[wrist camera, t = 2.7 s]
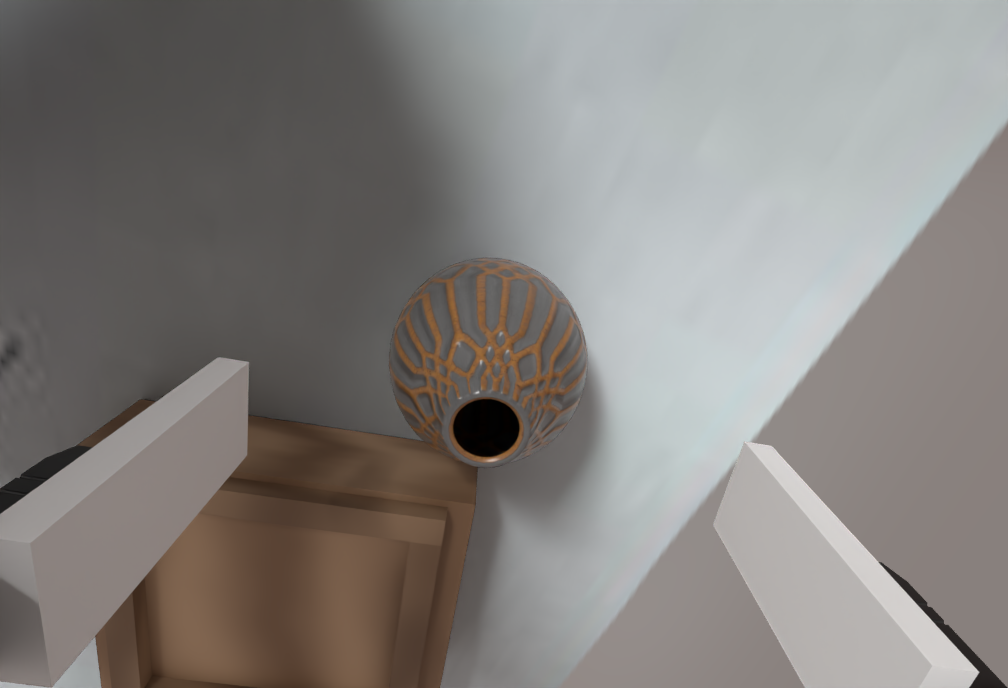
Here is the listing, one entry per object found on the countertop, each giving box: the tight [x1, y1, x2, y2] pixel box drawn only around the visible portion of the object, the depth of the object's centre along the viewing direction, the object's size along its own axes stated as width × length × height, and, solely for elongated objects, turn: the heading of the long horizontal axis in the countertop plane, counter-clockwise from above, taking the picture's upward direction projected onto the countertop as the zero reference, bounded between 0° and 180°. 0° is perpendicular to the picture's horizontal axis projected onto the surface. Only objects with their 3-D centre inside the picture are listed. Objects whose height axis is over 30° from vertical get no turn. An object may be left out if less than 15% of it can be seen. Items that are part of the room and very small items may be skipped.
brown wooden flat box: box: [78, 399, 478, 688], centre depth 24 cm, size 15×13×5 cm
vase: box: [389, 258, 587, 468], centre depth 18 cm, size 7×7×9 cm
